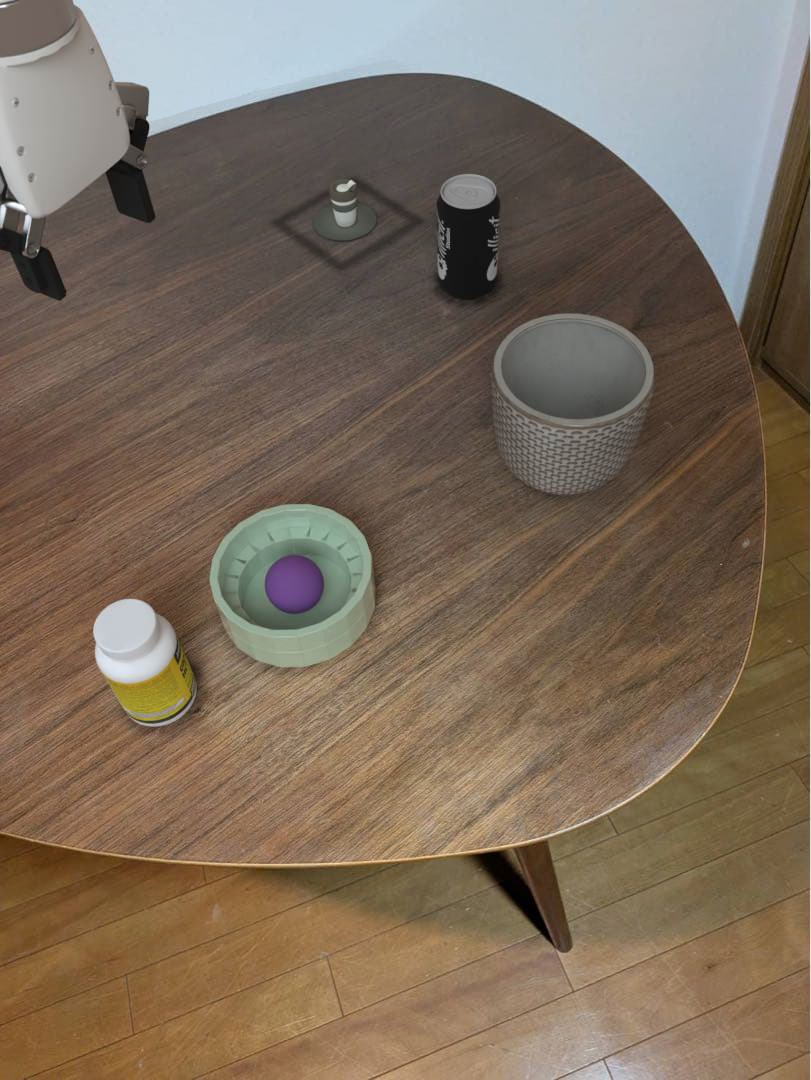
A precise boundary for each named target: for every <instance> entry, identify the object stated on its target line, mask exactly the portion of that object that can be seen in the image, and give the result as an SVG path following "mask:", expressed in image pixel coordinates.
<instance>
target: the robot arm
mask: <svg viewBox="0 0 811 1080" xmlns="http://www.w3.org/2000/svg"><path fill="white" fill-rule="evenodd" d="M149 105H150V89H149V88H148V87H147V86H146V85H141V84H139V83H135V82H131V81H129V82H128V81H115V79H114V77H113V75H112V72H111V69H110V66H109V64H108V62H107V58H106V57H105V54H104V52H103V49H102V47H101V45H100V42H99V41H98V39H97V36H96V35H95V33H94V31H93V29H92V27H91V25H90V22H89V21H88V20H87V17H86V16H85V14H84V12H83V11H82V9H81V8H80V7H78V5H75V3H74V0H0V251H3V252H7V253H9V254H10V255H11V259H12V260H13V263H14V265H15V267H16V269H17V272H18V274H19V276H20V279H21V280H22V283H23V284H24V286H25V287H26V288H27V289H28V290H29V291H31V292H33V293H36V294H41V295H44V296H46V297H48V298H51V299H54V300H56V301H59V302H62V300H64V299H65V298H66V297H67V289H66V286H65V284H64V282H63V279H62V277H61V275H60V274H61V273H60V272H59V269H58V267H57V265H56V261H55V259H54V257H53V254H52V252H51V251H50V249H48V248H46V247H44V246H43V245H42V240H43V235H44V230H45V224H46V218H47V217H48V216H50V215H52V214H54V213H55V212H56V211H58V210H59V209H60V208H62V207H63V206H64V205H66V204H67V203H68V202H69V201H71V200H72V199H73V198H75V197H76V196H77V195H78V194H80V193H81V192H82V191H84V190H85V189H86V188H87V187H88V186H90V185H91V184H92V183H93V182H95V181H96V180H97V179H99V178H101V176H102V175H103V174H105V176H106V178H107V181H108V185H109V188H110V191H111V195H112V198H113V200H114V204H115V207H116V209H117V212H118V213H119V214H121V215H124V216H127V217H129V218H132V219H135V220H137V221H139V222H143V223H145V224H151V223H152V222H154V220H156V213H155V209H154V206H153V201H152V199H151V195H150V192H149V188H148V185H147V181H146V178H145V175H144V171H143V170H144V169H145V168H146V167H147V164H148V155H147V153H146V152H145V147H146V145H147V140H148V137H149V133H150V123H149V121H148V120H147V117H149ZM21 214H23V215H25V218H24V221H23V227H22V233H21V232H18V226H19V221H20V216H21Z"/></svg>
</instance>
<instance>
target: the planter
mask: <svg viewBox="0 0 811 1080" xmlns="http://www.w3.org/2000/svg"><path fill="white" fill-rule="evenodd" d="M655 378H656V369H655V364H654V361H653V357H652V355H651V353H650V351H649V349H648V348H647V347H646V345H645V344H644V343H643V342H642V340H641V339H639V338H638V337H637V336H636V335H635V333H633V332H631V331H630V330H628V329H627V328H626V327H623V326H621V325H619V324H617V323H615V322H613V321H611V320H608V319H605V318H603V317H598V316H595V315H591V314H583V313H555V314H550V315H544V316H541V317H536V318H534V319H531V320H528V321H526V322H524V323H522V324H520V325H519V326H517V327H515V328H514V329H513V330H511V331H510V332H509V333H508V334H506V335H505V337H504V338H503V339H502V340H501V341H500V343H499V344H498V346H497V348H496V350H495V352H494V355H493V359H492V362H491V369H490V395H491V413H492V422H493V431H494V436H495V442H496V445H497V446H496V447H497V449H498V453H499V455H500V457H501V459H502V462H503V463H504V465H505V466H506V467H507V469H508V470H509V472H511V474H512V475H513V476H514V477H516V479H518V480H519V481H521V482H522V483H524V484H525V485H527V486H528V487H530V488H532V489H535V490H537V491H539V492H543V493H546V494H550V495H555V496H574V495H581V494H586V493H589V492H592V491H595V490H598V489H600V488H602V487H604V486H606V485H607V484H608V483H610V482H611V481H612V480H614V478H616V477H617V476H618V475H619V474H620V473H621V472H622V470H623V469H624V467H625V466H626V464H627V463H628V461H629V460H630V458H631V456H632V453H633V451H634V450H635V447H636V444H637V442H638V439H639V436H640V433H641V431H642V429H643V426H644V424H645V420H646V416H647V413H648V410H649V407H650V404H651V402H652V397H653V394H654V388H655V383H656V381H655V380H656V379H655Z"/></svg>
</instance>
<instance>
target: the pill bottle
mask: <svg viewBox="0 0 811 1080" xmlns="http://www.w3.org/2000/svg"><path fill="white" fill-rule="evenodd" d="M92 632H93V634H92V635H93V638H94V641H95V645H94V646H95V647H94V657H95V662H96V664H97V667H98V669H99V671H100V672H101V674H102V676H103V677H104V679H105V680H106V682H107V684H108V685H109V687H110V688H111V690H112V692H113V694H114V695H115V697H116V699H117V701H118V702H119V704H120V706H121V707H122V709H123V710H124V712H125V713H126V715H127V716H128V717H129V718H130V719H131V720H132V721H134V722H135V723H136V724H139V725H140V726H144V727H153V728H154V727H155V728H156V727H162V726H163V727H164V726H167V725H169V724H172V723H173V722H175V721H177V720H179V719H181V718H182V717H183V716H184V715H186V713H188V711H189V710H190V709H191V707H192V706H193V704H194V702H195V699H196V697H197V696H196V695H197V687H198V686H197V679H196V677H195V674H194V672H193V668H192V666H191V665H190V663H189V660H188V658H187V656H186V654H185V652H184V648H183V647H182V644H181V642H180V640H179V638H178V635H177V632H176V631H175V629H174V627H173V625H172V623H170V622H169V621H168V619H166V618H165V617H164V616H162V615H160V614H159V613H156V612H155V610H154V608H153V607H152V606H151V605H150V604H149V603H147V602H146V601H144V600H141V599H137V598H124V599H123V598H122V599H120V600H117V601H114V602H112V603H111V604H108V605H107V606H106V607H105V608H104V609H102V611H100V612H99V614H98V615H97V617H96V618H95V621H94V623H93V629H92Z"/></svg>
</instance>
